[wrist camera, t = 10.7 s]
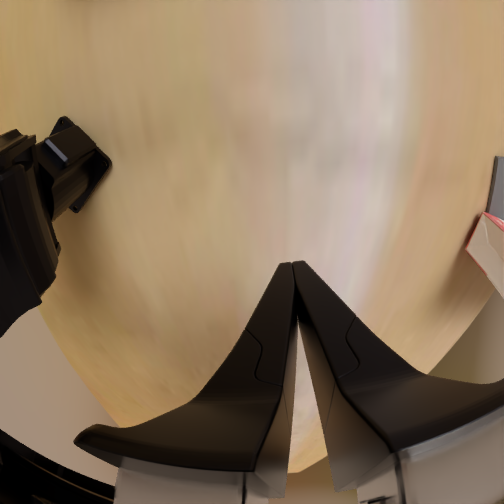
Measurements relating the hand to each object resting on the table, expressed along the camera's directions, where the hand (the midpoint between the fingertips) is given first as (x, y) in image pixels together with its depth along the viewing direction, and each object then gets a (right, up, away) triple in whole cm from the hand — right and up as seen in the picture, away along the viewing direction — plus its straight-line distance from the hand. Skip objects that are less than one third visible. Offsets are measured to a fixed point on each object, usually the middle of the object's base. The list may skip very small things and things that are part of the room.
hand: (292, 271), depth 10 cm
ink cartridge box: (+20, +1, +8) cm, 22 cm away
